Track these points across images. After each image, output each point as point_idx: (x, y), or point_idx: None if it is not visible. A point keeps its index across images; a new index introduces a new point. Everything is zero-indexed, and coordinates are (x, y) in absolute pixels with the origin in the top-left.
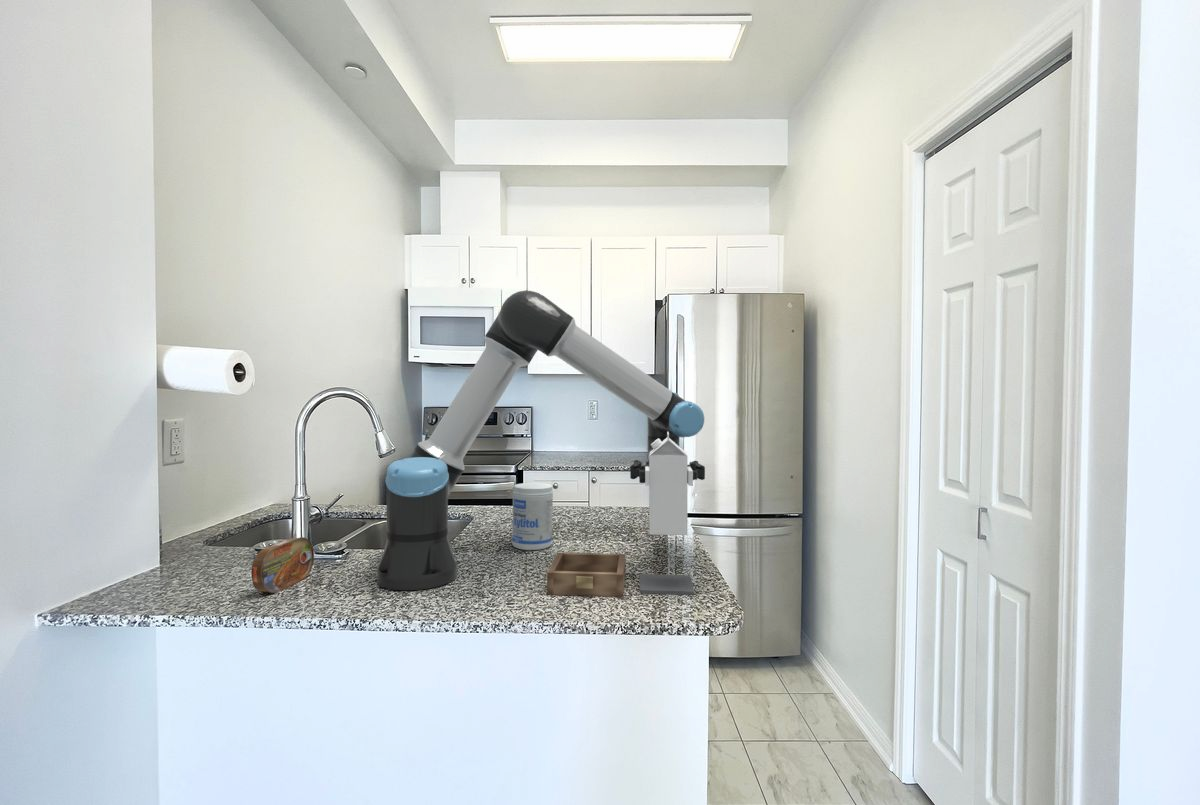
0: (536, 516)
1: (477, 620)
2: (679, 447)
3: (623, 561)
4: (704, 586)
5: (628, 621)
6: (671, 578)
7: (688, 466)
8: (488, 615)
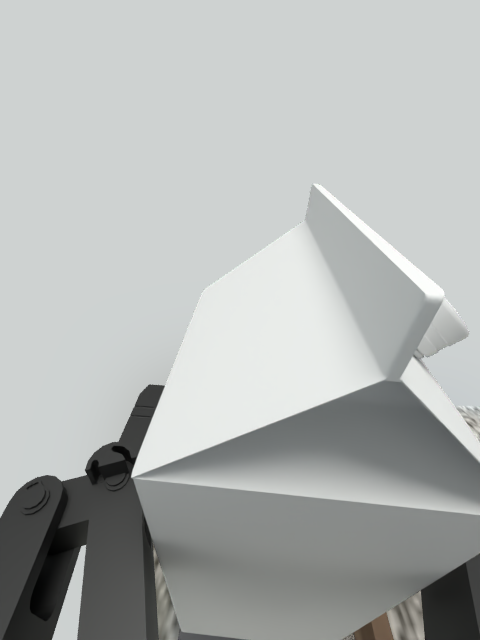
0: None
1: (471, 411)
2: (221, 347)
3: (374, 619)
4: (156, 589)
5: None
6: (231, 638)
7: (134, 515)
8: (473, 424)
